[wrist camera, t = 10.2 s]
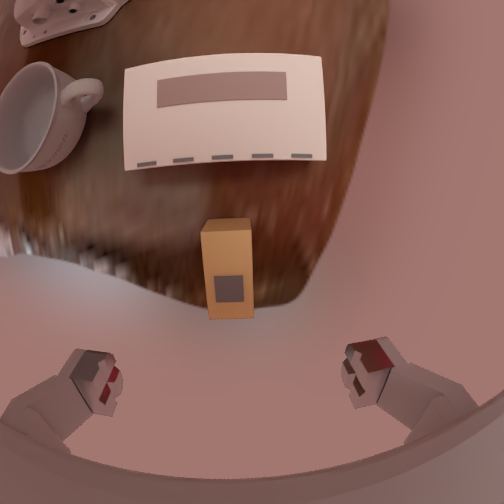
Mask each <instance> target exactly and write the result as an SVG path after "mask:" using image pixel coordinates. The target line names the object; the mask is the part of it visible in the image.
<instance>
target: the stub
mask: <svg viewBox="0 0 504 504" xmlns="http://www.w3.org/2000/svg"><path fill="white" fill-rule="evenodd" d="M200 233H201V245H202V256H203V267H204V277H205V286H206V296H207V304H208V313H209V319H243V318H254V301H253V267H252V233H251V224H250V218H225V219H208V220H207V222H206V223H205V225H204V227H203V229H202V230H201V232H200Z"/></svg>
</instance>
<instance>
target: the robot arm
mask: <svg viewBox="0 0 504 504" xmlns="http://www.w3.org/2000/svg"><path fill="white" fill-rule="evenodd" d="M127 1H129V0H16V2H15V6H14V18H15V20H16V22H17V23H18V24H20V25H21V30H20V42H21V45H22V46H24V47H29V46H32V45H35V44H37V43H40V42H43V41H46V40H49V39H52V38H55V37H58V36H62V35H65V34H69V33H73V32H76V31H80V30H85V29H89V28H94V27H98V26H102V25H104V24H106V23H107V22H108V21H109V20H110V19H111V18H112V17H113V16H114V15H115V13H116V12H117V11H118V10H119V9H120V7H121V6H122V5H123V4H125V3H126V2H127ZM345 354H346V356H347V358H346V359H345V360H344V362H343V364H342V369H341V375H342V380H343V383H344V385H345V387H347V388H348V389H350V390H351V391H350V394H349V397H350V399H351V401H352V403H353V406H354V408H355V409H357V408H361V407H366V406H370V405H374V404H377V406H379V407H380V408H382V409H383V410H384V411H385V412H387V413H388V414H390V415H391V416H393V417H394V418H395V419H397V420H398V421H400V422H401V423H403V424H404V425H405V426H407V427H408V428H410V429H411V430H412V431H411V432H410V434H409V435H408V437H407V438H406V439H405V441H404V444H405V445H402V446H400V447H397V448H394V449H392V450H389V451H386V452H383V453H380V454H377V455H374V456H371V457H368V458H364V459H361V460H357V461H354V462H351V463H346V464H342V465H338V466H334V467H329V468H325V469H320V470H315V471H309V472H303V473H298V474H290V475H282V476H274V477H262V478H247V479H200V478H184V477H173V476H164V475H156V474H150V473H143V472H138V471H132V470H127V469H122V468H118V467H113V466H109V465H105V464H101V463H98V462H94V461H90V460H87V459H84V458H81V457H78V456H74V455H72V454H71V451H70V449H69V448H68V447H67V446H66V445H65V444H64V443H63V441H64V440H65V439H66V438H67V437H68V436H69V435H71V433H73V432H74V431H75V430H76V429H77V428H78V427H79V426H81V425H82V423H84V422H85V421H86V420H87V419H88V418H89V417H91V416H92V413H94V414H99V415H106V416H111V417H112V416H113V413H114V411H115V408H116V405H117V402H116V399H115V398H116V397H118V396H119V395H120V394H121V391H122V388H123V379H122V375H121V372H120V370H119V369H118V368H116V367H115V366H114V365H115V363H116V360H115V358H114V356H113V354H111V353H106V352H99V351H92V350H83V349H75V350H74V351H73V353H72V354H71V356H70V357H69V359H68V360H67V362H66V363H65V365H64V366H63V368H62V369H61V371H60V373H59V374H58V376H56V375H54V376H52V377H50V378H49V379H47V380H45V381H43V382H42V383H40V384H38V385H36V386H35V387H33V388H31V389H29V390H28V391H26V392H24V393H22V394H20V395H19V396H17V397H15V398H13V399H12V400H11V402H10V403H9V405H8V406H7V408H6V410H5V411H4V413H3V415H2V416H1V418H0V504H504V390H503V391H501V392H500V393H499V394H497V395H496V396H494V397H493V398H492V399H490V400H488V401H487V402H485V403H484V404H482V405H481V406H478V405H477V404H476V402H475V401H474V400H473V399H472V397H471V396H470V395H469V393H468V392H467V391H466V390H465V388H464V387H463V386H462V385H461V384H459V383H456V382H454V381H452V380H449V379H447V378H445V377H443V376H440V375H438V374H435V373H433V372H431V371H429V370H427V369H424V368H422V367H420V366H417V365H415V364H413V363H407V362H406V360H405V359H404V358H403V357H402V355H401V354H400V352H399V351H398V350H397V348H396V347H395V346H394V345H393V343H392V342H391V341H390V339H389V338H388V337H381V338H377V339H373V340H368V341H363V342H357V343H352V344H348V345H347V347H346V350H345Z"/></svg>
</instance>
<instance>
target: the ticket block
mask: <svg viewBox="0 0 504 504" xmlns="http://www.w3.org/2000/svg"><path fill="white" fill-rule="evenodd" d="M123 142H124V166H125V171H127V170H138V169H148V168H156V167H165V166H175V165H185V164H198V163H212V162H230V161H262V160H301V161H320V160H326V123H325V102H324V86H323V73H322V62H321V57H317V56H308V55H296V54H278V53H235V54H217V55H205V56H195V57H187V58H180V59H173V60H167V61H161V62H156V63H150V64H146V65H141V66H136V67H132V68H128V69H125V78H124V101H123Z"/></svg>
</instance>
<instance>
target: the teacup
mask: <svg viewBox="0 0 504 504" xmlns="http://www.w3.org/2000/svg"><path fill="white" fill-rule="evenodd" d="M103 94H104V87H103V83H102V82H101V81H100V80H98V79H93V78H84V79H79V80H75V79H74V78H72V77H71V76H69V75H67V74H66V73H64V72H62V71H60V70H58V69H56V68H54V67H52V65H50V64H49V63H46V62H35V63H31V64H29V65H27V66H25V67H24V68H22V69H21V70H20V71H19V72H18V73H17V74H16V75H15V76H14V77H13V78H12V79H11V80H10V81H9V83H8V84H7V85H6V87H5V89H4V90H3V92H2V94H1V95H0V171H1V172H3V173H5V174H11V175H12V174H17V173H19V172H29V171H37V170H43V169H47V168H50V167H53V166H55V165H56V164H58V163H60V162H61V161H62V160H64V159H65V158H66V157H67V156H68V155H69V154H70V152H71V151H72V150H73V149H74V147H75V145H76V144H77V142H78V140H79V138H80V136H81V134H82V132H83V129H84V126H85V122H86V116H87V112H88V111H89V110H90V109H91V108H92V107H93V106H94V105H95V104H97V103H98V102H99V101H100V100H101V99H102V97H103ZM85 95H87V96H85Z"/></svg>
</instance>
